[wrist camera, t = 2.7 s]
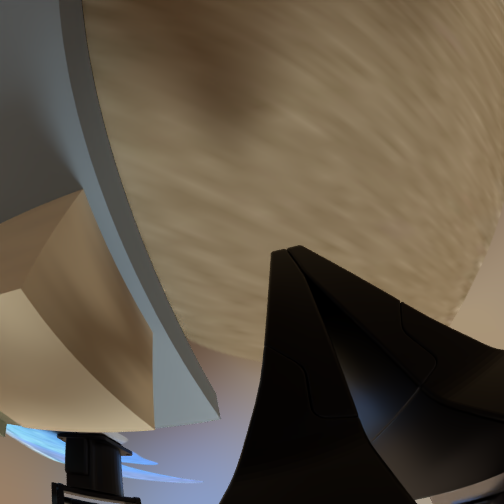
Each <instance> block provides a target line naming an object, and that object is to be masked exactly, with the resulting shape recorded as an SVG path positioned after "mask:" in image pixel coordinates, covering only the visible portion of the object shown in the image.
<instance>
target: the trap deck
mask: <svg viewBox="0 0 504 504" xmlns="http://www.w3.org/2000/svg"><path fill="white" fill-rule="evenodd" d="M81 189H84V192H85V195H86V197H87V200H88V202H89V205H90V207H91V210H92V212H93V215H94V217H95V220H96V222H97V224H98V227H99V229H100V231H101V233H102V236H103V238H104V240H105V242H106V245H107V247H108V249H109V251H110V253H111V255H112V257H113V259H114V262H115V264H116V266H117V268H118V270H119V272H120V274H121V276H122V278H123V280H124V282H125V283H126V285H127V287H128V289H129V291H130V293H131V295H132V297H133V299H134V300H135V302H136V304H137V306H138V308H139V309H140V311H141V313H142V315H143V316H144V318H145V320H146V322H147V323H148V325H149V327H150V328H151V330H152V332H153V402H154V422H155V428H164V427H172V426H181V425H188V424H194V423H202V422H208V421H213V420H219V419H221V418H220V413H219V407H218V402H217V396H216V393H215V391H214V390H213V388H212V386H211V384H210V383H209V381H208V379H207V377H206V375H205V373H204V372H203V370H202V368H201V366H200V364H199V363H198V361H197V359H196V357H195V355H194V353H193V351H192V349H191V347H190V345H189V343H188V341H187V339H186V337H185V335H184V333H183V331H182V329H181V327H180V325H179V323H178V321H177V319H176V317H175V315H174V313H173V311H172V308H171V306H170V304H169V302H168V300H167V298H166V295H165V293H164V291H163V289H162V287H161V284H160V282H159V280H158V277H157V275H156V273H155V270H154V268H153V266H152V263H151V261H150V258H149V256H148V254H147V251H146V249H145V246H144V244H143V241H142V238H141V236H140V233H139V231H138V228H137V225H136V223H135V220H134V217H133V215H132V212H131V209H130V206H129V203H128V201H127V198H126V195H125V192H124V189H123V186H122V183H121V180H120V177H119V174H118V170H117V167H116V164H115V161H114V158H113V154H112V151H111V147H110V144H109V140H108V137H107V133H106V129H105V126H104V122H103V118H102V114H101V110H100V106H99V102H98V97H97V93H96V88H95V84H94V79H93V74H92V69H91V64H90V58H89V53H88V47H87V40H86V34H85V26H84V18H83V10H82V0H0V224H1V223H3V222H5V221H7V220H9V219H11V218H13V217H15V216H18V215H20V214H22V213H24V212H26V211H29V210H31V209H33V208H36V207H38V206H40V205H43V204H45V203H48V202H50V201H52V200H55V199H58V198H60V197H63V196H65V195H68V194H70V193H73V192H76V191H79V190H81ZM7 424H12V425H19V424H18V423H17V422H15V421H14V420H12V419H11V418H9V417H8V416H7V415H5V414H4V413H2V412H1V411H0V436H3V437H5V432H6V425H7ZM19 426H21V425H19Z"/></svg>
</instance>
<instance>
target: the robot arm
mask: <svg viewBox="0 0 504 504" xmlns="http://www.w3.org/2000/svg"><path fill="white" fill-rule="evenodd" d="M57 438H59V439H61V440H62V441H64V442H66V449H65V471H66V473H67V486H66V485H63V484H61V483H53V482H52V504H97V503H91V502H86V501H81V500H77V499H72V498H68V497H64V493H67V494H71V495H75V496H80V497H84V498H89V499H95V500H100V501H106V502H113V503H120V504H141V500H140V498H138V497H133V498H131V497H124V494H123V483H122V468H121V456H132V451H130V450H128V449H126V448H124V447H123V446H121V445H119V444H117V443H116V442H114V441H112V440H110V439H109V438H107V437H105V436H102V435H75V434H57ZM426 497H430V499H431V501H432V503H433V504H504V350H501V349H496V348H493V347H490V346H488V345H485V344H483V343H481V342H479V341H477V340H475V339H473V338H471V337H469V336H467V335H464V334H462V333H460V332H458V331H456V330H454V329H452V328H450V327H448V326H446V325H444V324H442V323H440V322H438V321H436V320H434V319H432V318H430V317H428V316H426V315H425V314H423V313H421V312H419V311H417V310H416V309H414V308H412V307H410V306H409V305H407V304H405V303H404V302H401V303H400V300H398V299H396V298H395V297H393V296H391V295H390V294H388V293H386V292H384V291H383V290H381V289H379V288H377V287H376V286H374V285H372V284H370V283H369V282H367V281H365V280H363V279H361V278H360V277H358V276H356V275H354V274H353V273H351V272H349V271H347V270H345V269H344V268H342V267H340V266H338V265H336V264H335V263H333V262H331V261H329V260H327V259H326V258H324V257H322V256H320V255H318V254H316V253H315V252H313V251H311V250H309V249H307V248H305V247H303V246H301V245H298V246H294V247H290V248H287V250H286V249H281V250H277V251H273V252H272V253H271V261H270V276H269V290H268V303H267V316H266V329H265V341H264V351H263V363H262V370H261V378H260V384H259V388H258V393H257V397H256V402H255V406H254V409H253V413H252V417H251V420H250V424H249V428H248V431H247V435H246V439H245V442H244V446H243V449H242V453H241V456H240V459H239V462H238V465H237V467H236V470H235V473H234V475H233V478H232V480H231V482H230V484H229V486H228V488H227V490H226V492H225V494H224V495H223V497H222V499H221V501H220V503H219V504H417V503H416V502H415V500H417V499H422V498H426Z"/></svg>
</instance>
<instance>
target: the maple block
mask: <svg viewBox="0 0 504 504" xmlns="http://www.w3.org/2000/svg"><path fill="white" fill-rule="evenodd" d="M0 411H1V412H2V413H4V414H5V415H7V416H8V417H9V418H11V419H12V420H14V421H15V422H17V423H18V424H19V425H21V426H22V427H25V428H33V429H42V430H53V431H67V432H130V431H131V432H132V431H147V430H155V422H154V402H153V332H152V330H151V328H150V327H149V325H148V323H147V322H146V320H145V318H144V316H143V315H142V313H141V311H140V309H139V308H138V306H137V304H136V302H135V300H134V299H133V297H132V295H131V293H130V291H129V289H128V287H127V285H126V283H125V282H124V280H123V278H122V276H121V274H120V272H119V270H118V268H117V266H116V264H115V262H114V259H113V257H112V255H111V253H110V251H109V249H108V247H107V245H106V242H105V240H104V238H103V236H102V233H101V231H100V229H99V227H98V224H97V222H96V220H95V217H94V215H93V212H92V210H91V207H90V205H89V202H88V200H87V197H86V195H85V192H84V189H81V190H79V191H76V192H73V193H70V194H68V195H65V196H63V197H60V198H58V199H55V200H52V201H50V202H48V203H45V204H43V205H40V206H38V207H36V208H33V209H31V210H29V211H26V212H24V213H22V214H20V215H18V216H15V217H13V218H11V219H9V220H7V221H5V222H3V223H1V224H0Z"/></svg>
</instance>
